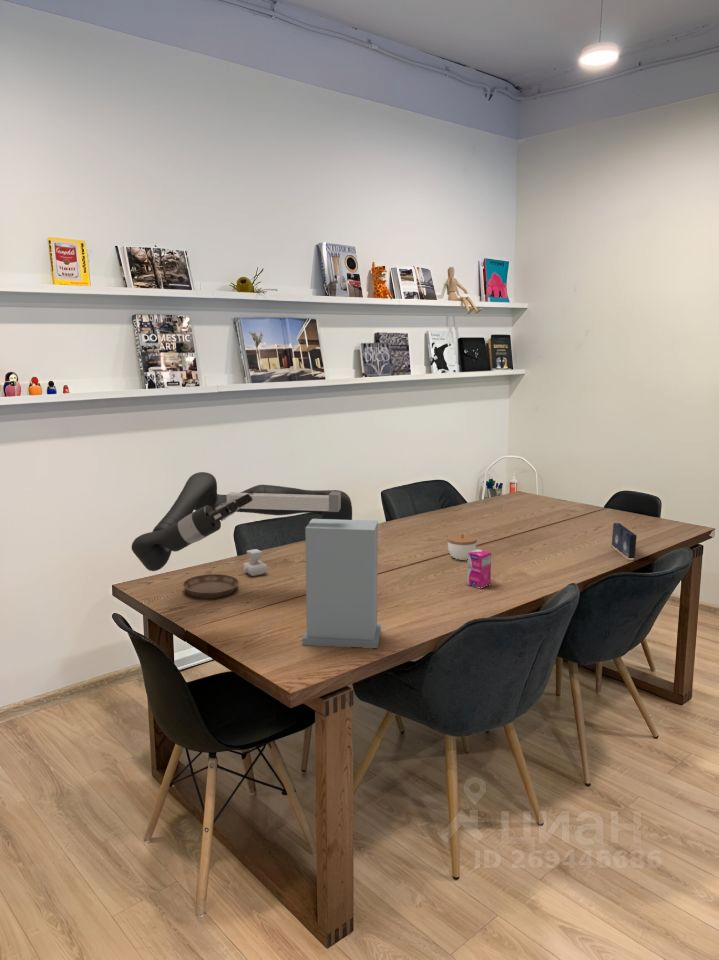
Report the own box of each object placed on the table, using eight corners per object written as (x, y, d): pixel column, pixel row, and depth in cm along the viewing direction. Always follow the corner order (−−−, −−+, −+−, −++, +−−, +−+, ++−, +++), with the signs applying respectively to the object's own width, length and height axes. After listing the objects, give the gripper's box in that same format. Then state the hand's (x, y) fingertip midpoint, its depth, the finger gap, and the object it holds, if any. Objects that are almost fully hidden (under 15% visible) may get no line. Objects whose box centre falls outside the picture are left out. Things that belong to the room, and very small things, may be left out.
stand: (302, 645, 198) (300, 528, 192) (310, 627, 210) (309, 517, 204) (377, 648, 196) (377, 531, 190) (380, 631, 208) (381, 519, 202)
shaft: (226, 508, 197) (225, 491, 196) (231, 504, 202) (230, 488, 201) (338, 511, 194) (338, 495, 193) (340, 508, 198) (340, 491, 197)
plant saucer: (250, 588, 243) (250, 579, 243) (212, 604, 229) (212, 595, 228) (210, 579, 252) (209, 570, 252) (171, 594, 238) (171, 585, 237)
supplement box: (466, 585, 246) (467, 552, 244) (476, 581, 250) (477, 548, 248) (480, 589, 242) (481, 555, 240) (491, 585, 246) (492, 552, 244)
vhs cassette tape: (635, 561, 273) (636, 535, 272) (626, 561, 273) (628, 535, 272) (618, 547, 291) (620, 522, 290) (611, 547, 291) (612, 522, 290)
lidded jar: (475, 554, 281) (475, 530, 279) (476, 562, 271) (477, 538, 269) (446, 553, 282) (447, 529, 280) (447, 562, 272) (447, 537, 270)
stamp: (247, 579, 252) (247, 555, 251) (239, 574, 257) (238, 550, 256) (271, 574, 257) (270, 551, 255) (262, 569, 262) (262, 546, 261)
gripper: (183, 519, 194) (237, 488, 191) (200, 507, 208) (251, 478, 205) (197, 543, 195) (252, 513, 192) (214, 530, 209) (265, 501, 205)
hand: (252, 495), depth 198 cm, fingers closed on shaft, 3 cm apart
